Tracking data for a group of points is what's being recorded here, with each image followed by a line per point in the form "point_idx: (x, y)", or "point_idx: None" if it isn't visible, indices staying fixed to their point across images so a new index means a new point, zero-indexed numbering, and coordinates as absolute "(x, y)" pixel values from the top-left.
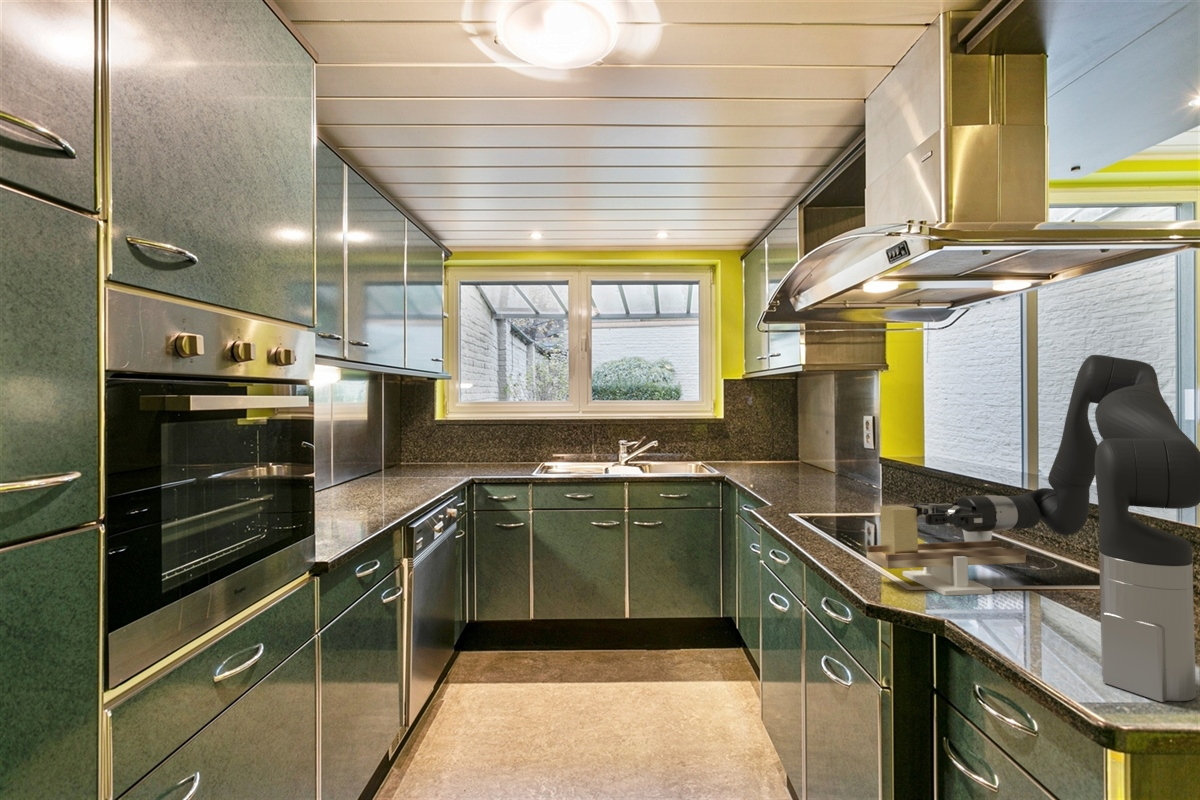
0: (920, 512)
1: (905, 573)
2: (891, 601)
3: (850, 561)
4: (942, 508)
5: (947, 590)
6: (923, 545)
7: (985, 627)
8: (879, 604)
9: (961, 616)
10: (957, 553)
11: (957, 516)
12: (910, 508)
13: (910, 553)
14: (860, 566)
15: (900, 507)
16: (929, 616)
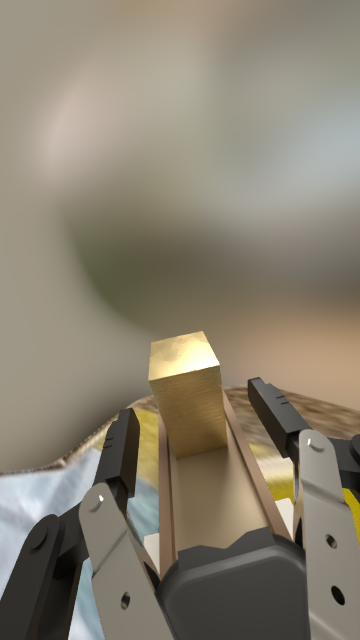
0: (296, 462)
1: (278, 501)
2: (140, 420)
3: (352, 420)
4: (275, 594)
5: (144, 546)
6: (270, 522)
7: (10, 517)
8: (134, 405)
9: (58, 501)
10: None
11: (37, 529)
12: (163, 370)
13: (162, 430)
14: (320, 428)
15: (181, 355)
16: (83, 447)
